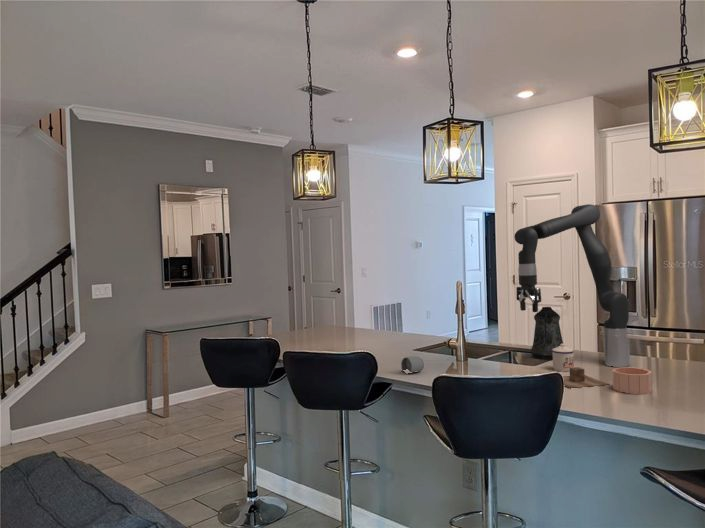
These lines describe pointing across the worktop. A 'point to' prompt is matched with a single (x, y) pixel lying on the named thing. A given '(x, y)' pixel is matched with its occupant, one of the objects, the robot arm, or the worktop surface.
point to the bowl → (632, 380)
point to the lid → (581, 379)
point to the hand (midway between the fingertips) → (529, 311)
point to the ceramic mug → (412, 364)
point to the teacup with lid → (563, 358)
